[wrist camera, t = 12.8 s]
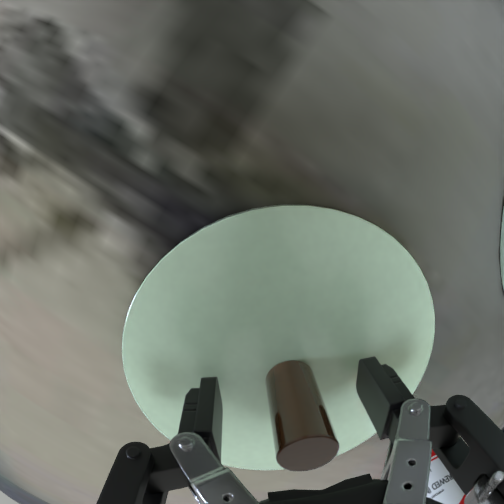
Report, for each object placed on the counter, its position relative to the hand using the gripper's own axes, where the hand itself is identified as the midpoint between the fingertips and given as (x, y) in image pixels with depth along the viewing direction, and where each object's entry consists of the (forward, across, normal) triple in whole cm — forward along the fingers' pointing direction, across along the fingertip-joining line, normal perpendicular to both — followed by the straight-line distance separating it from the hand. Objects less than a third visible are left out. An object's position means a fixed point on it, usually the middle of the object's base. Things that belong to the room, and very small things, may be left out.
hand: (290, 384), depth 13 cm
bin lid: (+1, 0, 0) cm, 1 cm away
